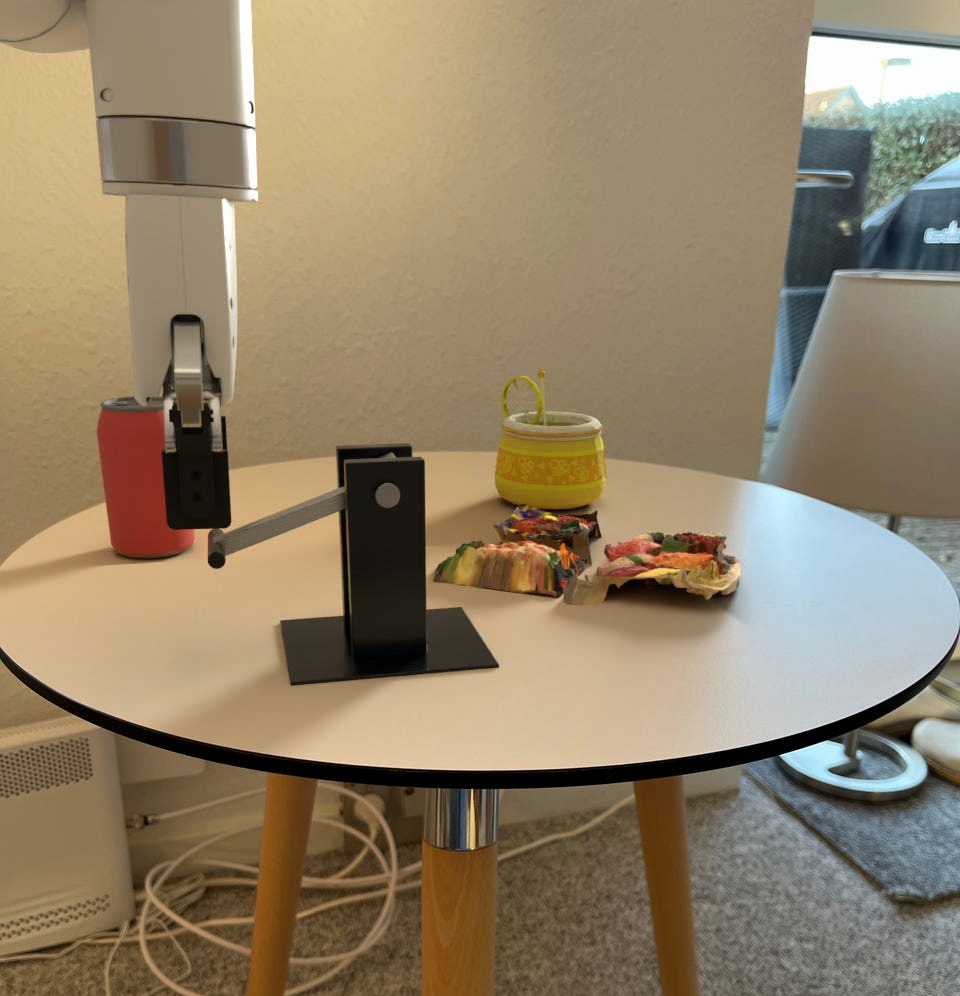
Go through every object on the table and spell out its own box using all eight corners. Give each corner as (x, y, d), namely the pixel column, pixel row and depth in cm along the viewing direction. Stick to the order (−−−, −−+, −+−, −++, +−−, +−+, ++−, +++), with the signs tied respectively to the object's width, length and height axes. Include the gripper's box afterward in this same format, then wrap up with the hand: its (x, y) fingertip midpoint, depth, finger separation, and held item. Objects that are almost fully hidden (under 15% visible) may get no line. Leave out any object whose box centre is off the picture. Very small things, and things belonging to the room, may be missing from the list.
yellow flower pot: (618, 513, 96) (627, 383, 91) (504, 516, 94) (507, 384, 90) (585, 482, 108) (591, 366, 103) (483, 485, 106) (484, 367, 102)
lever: (217, 583, 56) (198, 544, 55) (217, 557, 60) (200, 520, 59) (417, 503, 57) (402, 464, 56) (402, 483, 61) (388, 447, 60)
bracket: (291, 701, 57) (277, 476, 52) (281, 637, 66) (267, 439, 61) (499, 682, 60) (503, 466, 55) (461, 623, 69) (462, 432, 64)
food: (756, 561, 82) (761, 519, 81) (722, 642, 66) (727, 590, 64) (500, 532, 89) (501, 492, 88) (412, 598, 73) (411, 550, 72)
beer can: (126, 537, 87) (109, 394, 82) (204, 538, 87) (190, 395, 82) (100, 560, 81) (80, 407, 76) (184, 561, 81) (168, 408, 76)
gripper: (115, 170, 57) (140, 470, 64) (79, 152, 42) (117, 551, 48) (251, 177, 59) (262, 469, 65) (265, 163, 44) (277, 546, 50)
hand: (200, 503), depth 57 cm, fingers open, 9 cm apart
